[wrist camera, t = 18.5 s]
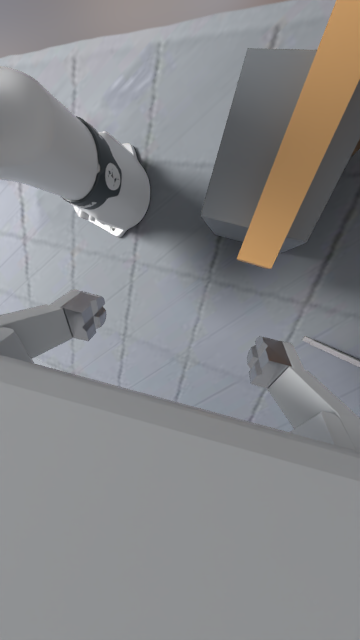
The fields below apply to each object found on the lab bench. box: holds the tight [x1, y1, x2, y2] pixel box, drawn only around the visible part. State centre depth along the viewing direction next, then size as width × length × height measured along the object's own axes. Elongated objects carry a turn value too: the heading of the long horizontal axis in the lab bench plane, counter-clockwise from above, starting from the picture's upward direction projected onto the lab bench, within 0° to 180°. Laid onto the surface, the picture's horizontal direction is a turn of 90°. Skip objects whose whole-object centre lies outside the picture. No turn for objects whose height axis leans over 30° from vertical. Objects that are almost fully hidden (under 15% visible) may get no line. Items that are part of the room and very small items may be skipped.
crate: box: [200, 48, 360, 253], centre depth 26 cm, size 14×16×14 cm
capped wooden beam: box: [237, 0, 360, 269], centre depth 17 cm, size 4×24×4 cm, turn 164°
